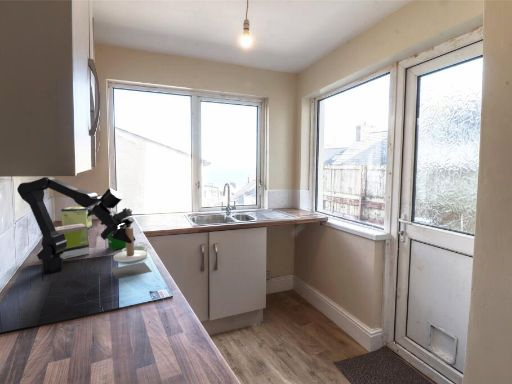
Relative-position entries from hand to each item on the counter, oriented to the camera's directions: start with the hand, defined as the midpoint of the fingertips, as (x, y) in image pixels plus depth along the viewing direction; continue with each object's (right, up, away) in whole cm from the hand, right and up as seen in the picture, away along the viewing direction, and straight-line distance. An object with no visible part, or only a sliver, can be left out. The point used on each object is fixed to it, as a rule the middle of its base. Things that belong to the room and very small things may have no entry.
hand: (133, 241), depth 122 cm
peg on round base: (-1, -7, +1) cm, 7 cm away
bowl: (-7, -11, +18) cm, 22 cm away
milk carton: (-24, -10, +36) cm, 44 cm away
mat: (-1, -13, +1) cm, 13 cm away
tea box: (-41, -11, +22) cm, 48 cm away
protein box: (-73, -5, +79) cm, 108 cm away
